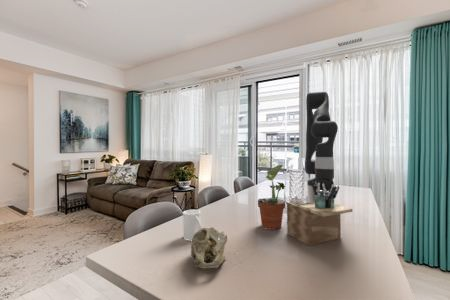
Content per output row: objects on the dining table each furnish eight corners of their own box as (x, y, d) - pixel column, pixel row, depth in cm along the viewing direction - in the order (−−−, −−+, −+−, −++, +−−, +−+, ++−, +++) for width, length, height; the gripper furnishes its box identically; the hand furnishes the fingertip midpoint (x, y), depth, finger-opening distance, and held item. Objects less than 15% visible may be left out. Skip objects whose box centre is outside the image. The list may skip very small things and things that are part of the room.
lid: (298, 207, 99) (298, 194, 99) (325, 204, 106) (325, 191, 105) (323, 216, 86) (322, 201, 86) (352, 211, 93) (352, 197, 92)
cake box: (287, 233, 106) (286, 202, 106) (317, 227, 113) (316, 198, 113) (308, 245, 93) (308, 210, 93) (340, 238, 100) (340, 205, 100)
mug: (207, 240, 99) (207, 214, 99) (189, 245, 94) (189, 217, 94) (196, 232, 109) (196, 208, 109) (180, 236, 104) (179, 211, 104)
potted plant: (292, 226, 115) (292, 159, 115) (274, 233, 106) (273, 161, 105) (269, 218, 127) (268, 158, 127) (251, 225, 118) (250, 159, 117)
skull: (235, 278, 76) (193, 282, 69) (214, 247, 94) (180, 248, 88) (241, 247, 75) (199, 248, 69) (219, 221, 93) (185, 221, 87)
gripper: (306, 166, 101) (306, 204, 101) (331, 169, 88) (331, 212, 88) (318, 165, 104) (318, 202, 104) (344, 168, 91) (345, 210, 91)
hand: (324, 206), depth 96 cm, fingers closed on lid, 3 cm apart
